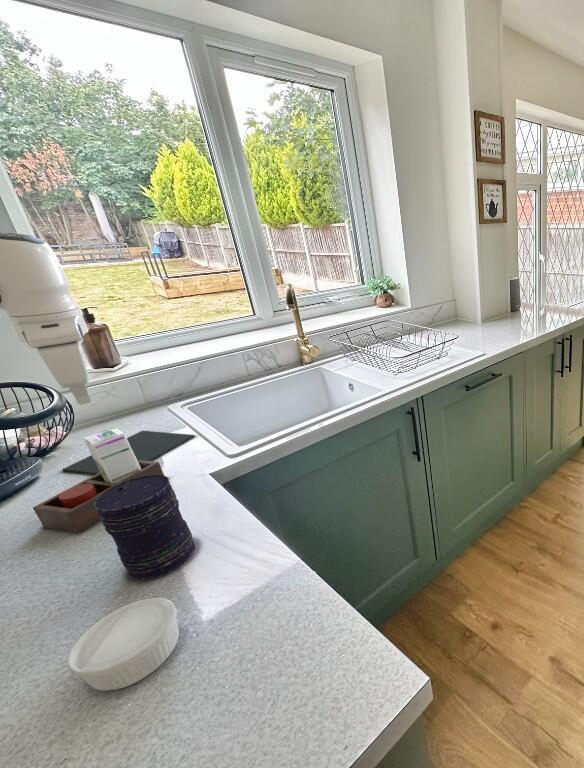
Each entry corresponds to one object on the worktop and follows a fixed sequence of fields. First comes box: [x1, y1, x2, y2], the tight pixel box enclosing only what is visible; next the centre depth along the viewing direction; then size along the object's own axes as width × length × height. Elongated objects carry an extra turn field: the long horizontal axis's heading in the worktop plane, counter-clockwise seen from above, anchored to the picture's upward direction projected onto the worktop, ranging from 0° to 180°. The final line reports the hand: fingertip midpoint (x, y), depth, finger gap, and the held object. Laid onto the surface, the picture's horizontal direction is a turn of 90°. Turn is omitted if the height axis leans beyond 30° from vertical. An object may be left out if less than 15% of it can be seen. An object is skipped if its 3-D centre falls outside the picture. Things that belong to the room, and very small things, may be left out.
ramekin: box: [67, 597, 180, 692], centre depth 57 cm, size 11×11×5 cm
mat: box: [61, 430, 195, 476], centre depth 110 cm, size 18×20×1 cm
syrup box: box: [83, 427, 141, 483], centre depth 92 cm, size 6×6×14 cm
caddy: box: [32, 460, 165, 534], centre depth 90 cm, size 10×18×5 cm, turn 169°
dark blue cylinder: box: [94, 475, 196, 581], centre depth 72 cm, size 10×10×15 cm
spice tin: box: [59, 484, 98, 509], centre depth 86 cm, size 5×5×6 cm
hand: (83, 396), depth 81 cm, fingers open, 8 cm apart
